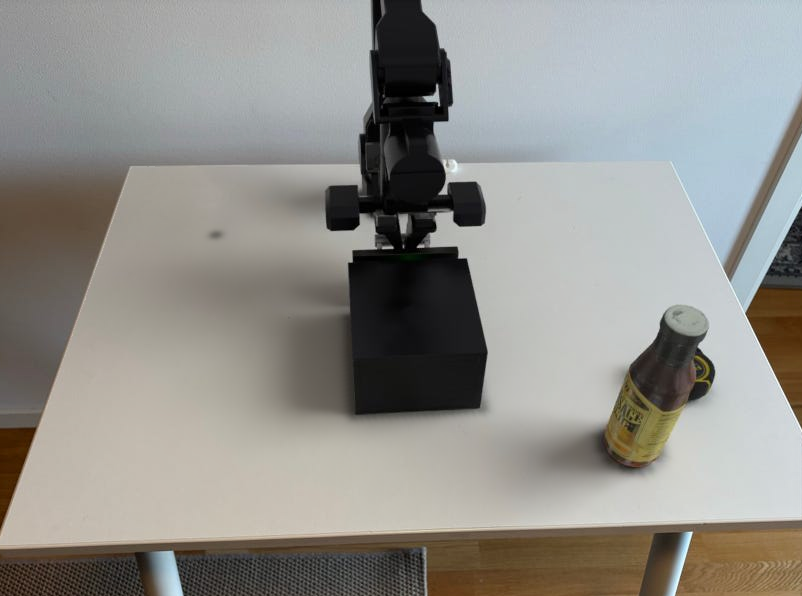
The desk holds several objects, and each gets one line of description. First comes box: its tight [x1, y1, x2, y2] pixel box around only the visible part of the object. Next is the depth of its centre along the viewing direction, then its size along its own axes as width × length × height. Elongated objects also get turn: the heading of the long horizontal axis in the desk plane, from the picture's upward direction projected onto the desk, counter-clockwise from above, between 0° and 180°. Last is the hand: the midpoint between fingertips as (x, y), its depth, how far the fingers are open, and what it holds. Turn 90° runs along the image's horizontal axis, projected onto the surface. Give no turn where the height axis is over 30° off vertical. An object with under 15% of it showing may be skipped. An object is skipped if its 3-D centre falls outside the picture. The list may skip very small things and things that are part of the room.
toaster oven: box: [347, 257, 489, 416], centre depth 86 cm, size 16×14×9 cm
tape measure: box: [687, 346, 716, 402], centre depth 86 cm, size 7×7×4 cm
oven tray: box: [351, 232, 460, 262], centre depth 90 cm, size 19×13×7 cm
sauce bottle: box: [603, 304, 710, 468], centre depth 74 cm, size 7×6×20 cm
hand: (403, 261), depth 94 cm, fingers closed, pressing on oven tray
